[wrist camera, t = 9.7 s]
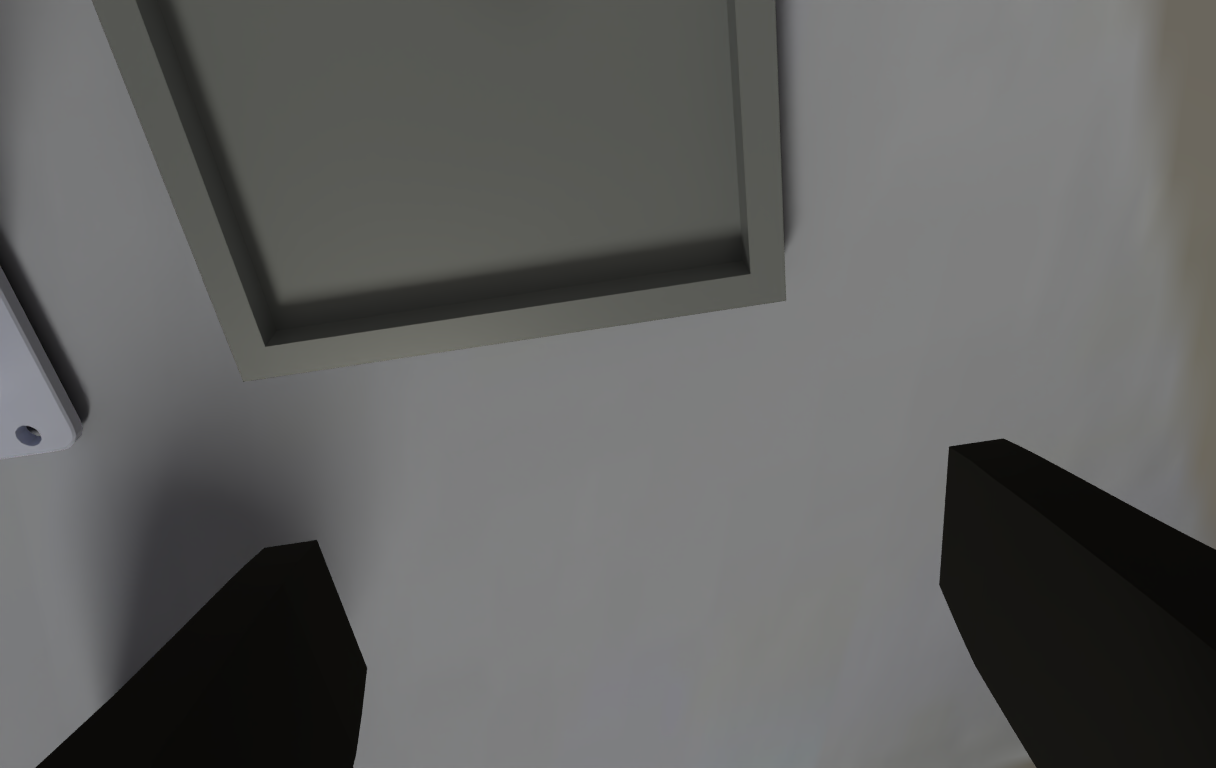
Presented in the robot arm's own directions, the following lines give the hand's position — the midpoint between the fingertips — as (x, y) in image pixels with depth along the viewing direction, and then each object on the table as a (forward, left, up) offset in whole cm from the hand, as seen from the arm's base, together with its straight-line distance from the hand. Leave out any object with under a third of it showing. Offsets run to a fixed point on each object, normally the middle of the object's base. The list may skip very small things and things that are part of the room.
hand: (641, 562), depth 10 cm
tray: (-2, +5, -9) cm, 11 cm away
